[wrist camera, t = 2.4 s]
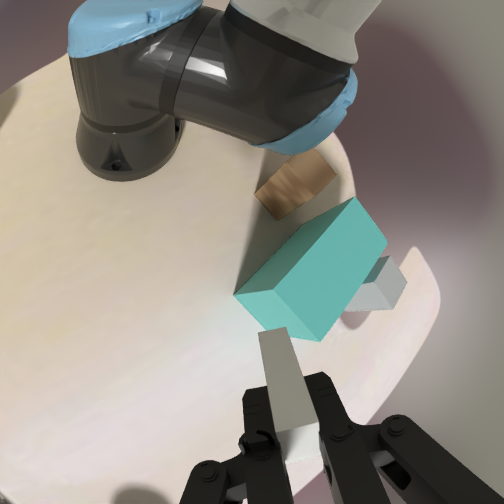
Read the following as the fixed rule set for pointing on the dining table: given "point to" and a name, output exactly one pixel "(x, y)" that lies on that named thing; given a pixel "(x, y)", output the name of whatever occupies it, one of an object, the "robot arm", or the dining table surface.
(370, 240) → the teal block
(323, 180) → the walnut block
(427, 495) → the robot arm
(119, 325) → the dining table surface
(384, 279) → the grey block
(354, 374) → the dining table surface
